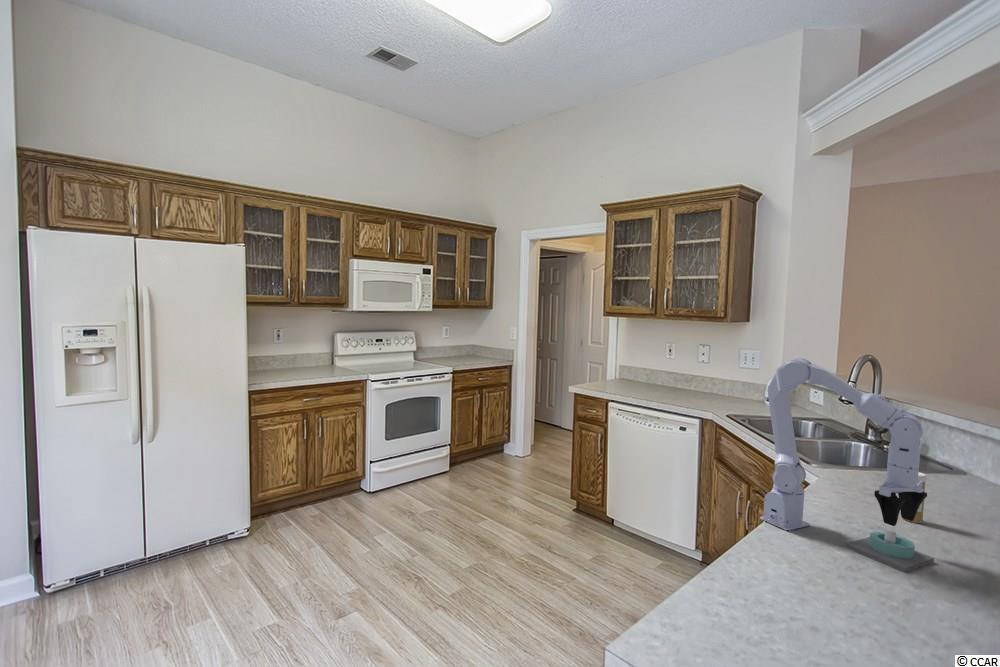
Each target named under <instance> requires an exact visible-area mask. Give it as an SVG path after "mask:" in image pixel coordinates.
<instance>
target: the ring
mask: <svg viewBox="0 0 1000 667" xmlns="http://www.w3.org/2000/svg"><path fill="white" fill-rule="evenodd" d="M869 537H870V541H869V543H870V547H872V548H873V549H875V550H876V551H879V552H881V553H883V554H886V555H889V556H893V557H898V558H908V559H909V558H912V557H914V550H915V544H914V542H913V541H911V540H910V539H908V538H906V537H904V536H901V535H899V534H896V541H895V544H893V543H889V542H887V541H884V539H885V531H871V532H869Z"/></svg>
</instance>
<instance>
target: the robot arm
mask: <svg viewBox="0 0 1000 667" xmlns="http://www.w3.org/2000/svg"><path fill="white" fill-rule="evenodd" d="M807 381H808V382H807ZM805 382H807V384H808V385H819V386H823V387H825V388H827V389H829V390H830V391H832V392H834V393H836V394H837V395H839V396H840V397H842V398H844V399H846V400H847V401H849V402H851V403H853V404H854V405H855V410H856V412H857V413H859V414H861V415H862V416H863V417H865V418H867V419H868V420H871V421H872V422H873V423H875V424H877V425H878V426H879V427H882V428H884V429H888V431H889V433H890V442H889V444H888V451H887V465H886V479H885V480H884V482H883V483H882V484H881V485H879V487H878V490H875V491H874V492H873V494H874V497H875V498H876V501H877V503H878V505H879V507H880V511H881V512H880V513H881V515H882V520H883V523H884V524H887V525H890V526H891V527H896V526H897V523H898V520H899V515H900V516H901V518H902V519H903V520H905V519H906V520H905V521H907V520H909V521H913V520H914V518H915V515H916V513H917V510H918V508H919V506H920V504H921V503H922V501H923V500H924V501H925V499H926V498H928V493H927V492H923V490H924V489H922V485H923V482H922V481H918V473H919V472H920V470H919V469H920V462H921V461H920V459H921V448H920V446H921V437H922V436H923V433H924V432H923V425H922V423H921V421H920V419H919V418H917V417H916V416H915V415H914V414H913V413H909V412H907V409H904V408H903V407H901V408H899V407H897V406H896V405H894V404H892V403H890V402H889V401H888V400H885V398H886V397H885V396H884V395H882V394H878V395H877V394H876V393H872V392H870V393H863V392H862V391H860V390H858V388H856V387H854V386H853V385H851V384H850V383H848V382H846V381H844V380H843V379H842V378H840V377H838V376H837V375H836V374H834V373H833V372H831V371H829V370H827V369H826V368H824V367H822V366H820V365H818V364H816V363H812V362H811V361H810V360H809V359H805V358H801V357H799V358H795V359H789V360H787V361H786V362H784V363H783V364H782V365H780V366H779V367H777V368H776V372H775V374H774V375H773V377H772V379H771V381H770V382H769V384H768V386H767V389H766V390H767V392H766V393H767V398H768V405H769V412H770V420H771V426H772V428H771V429H772V433H773V434H772V435H773V436H772V437H773V440H774V447H775V449H774V450H775V459H774V472H773V473H772V482H773V484H772V485H773V486H772V489H771V491H769V492H767V493H766V494H765V495H764V498H763V514H762V516H759V518H760V520H762V521H764V522H766V521H767V523H768V524H771V525H773V526H776V527H778V528H780V529H783V530H785V531H787V530H789V531H792V530H797V529H800V528H806V527H808V526H810V525H811V523H809V522H807V521H804V504H805V503H804V502H805V489H804V487H803V486H802V483H804V481H805V480H806V477H807V473H806V470H805V468H804V467H803V465H802V463H801V459H800V456H799V454H798V452H797V444H796V438H795V430H794V429H795V428H794V424H793V416H792V409H791V400H790V394H791V392H793V391H794V390H795V389H796V388H797V387H798V386H799V385H800V384H803V383H805ZM768 519H769V520H768ZM909 521H908V522H909Z"/></svg>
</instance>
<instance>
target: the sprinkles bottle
mask: <svg viewBox="0 0 1000 667" xmlns="http://www.w3.org/2000/svg"><path fill="white" fill-rule="evenodd" d="M918 481H922V482H923V485H922V489H924V490H923V492H925V487H926V482H927V474H925V473H923V472H920V471H919V473H918ZM925 493H926V492H925ZM924 508H925V499H924V500H923V501H922V503H921V504H920V506H919V508H918V510H917V513H916V515H915V518H914V520H913V521H909V520H906V519H904V521H908V522H910V523H913V524H914V523H915V524H923V522H924V510H925V509H924Z"/></svg>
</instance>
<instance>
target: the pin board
mask: <svg viewBox="0 0 1000 667" xmlns="http://www.w3.org/2000/svg"><path fill="white" fill-rule="evenodd" d="M884 532H885V539H884V541H887V542H889V543H893V544H895V541H896V535H897V532H895V531H893V530H890V529H885V530H884ZM869 541H870V536H868V537H865V538H862V539H861V538H859V539H857V540H853V541H851V542H848V543H846V546H845V547H847V549H849V550H851V549H852V550H851V551H853V550H854V551H853V552H856V553H858V554H861V555H863V556H865V557H868V558H870V559H873V560H875V561H878V562H880V563H882V564H884V565H887V566H888V567H891V568H894V569H896V570H898V571H901V572H903V573H908V572H910V571H913V570H915V569H919V568H922V567H924V566H927V565H930V564H933V563H934V562H935V557H932V556H930V555H927V554H925V553H922V552H919V551H916V550H915V549H914V557H912V558H909V559H908V558H898V557H893V556H889V555H886V554H883V553H881V552H879V551H876V550H875V549H873V548H872V547H870V543H869Z"/></svg>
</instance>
